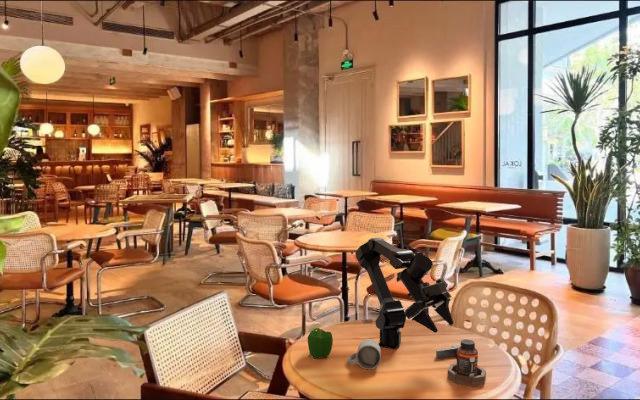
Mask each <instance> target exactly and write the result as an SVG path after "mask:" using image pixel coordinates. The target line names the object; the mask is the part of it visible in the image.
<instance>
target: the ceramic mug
mask: <svg viewBox="0 0 640 400" xmlns="http://www.w3.org/2000/svg"><path fill="white" fill-rule="evenodd" d="M381 360H382V350H381V346H379V342H377V341H376V340H374V339H370V338H368V339H367V338H366V339H364V340H363V341H362V342H360V343H359V345H358V347H357V351H356V352H355V353H353V354H351V355H349V356H348V357H347V359H346V361H347V364H348V365H350V366H353V365H356V364H357V365H358V366H360V368H362V369H364V370H367V369H368V370H370V371H371V370H373V369H376V368H377V367H378V366H379V365H380V364H381Z"/></svg>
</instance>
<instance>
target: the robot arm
mask: <svg viewBox="0 0 640 400" xmlns="http://www.w3.org/2000/svg"><path fill="white" fill-rule="evenodd" d="M381 256H383V257H384V258H386V259H388V261H389V264H390V266H391V267H392V268H393V269H395V270H400V269H402V271H399V272H396V282H400V281H401V282H402V284H403V286H404V287H405V289H406V290H407V292H408V293H407V296H408V298H412V299H413V301H414V302H413V303H411V304H410V306H408V307H407V308H406V309H405V308H404V307H403V304H402V302H401V300H400V299H398V300H397V299H394V298H393V295H392V292H391V290H390V287H389V285H388V283H387V280H386V279H385V276H384V273H383V271H382V268H381V266H380V263H381ZM355 259H356V260H357V262H358V264H359V266H360V267H361V268H363V269H364V270H365V271H366V272H367V274H368V277H369V279H370V283H371V285H372V287H373V290H374V293H375V295H376V297H377V299H378V303H379V310H378V317H377V318H376V319H375V321H374V322H375V327H376V328H377V329H379V342H378V344H379V346H380V348H381V347H382V348H387V349H388V348H389V349H393V350H397V349H398V347H399V346H400V345H401V344H402V332H401V331H400V329H404V327H405V324H406V320H407V319H408V320H411V321H415V322H416V323H418V324H420V325H422V326H423V327H425V328H427V329H428V330H430V331H432V332H433V333H437V332H438V331H439V329H438V328H437V326H436V325H435V323H434V321H433V319H432V317H431V316H430V312H429V308H430V307H431V308H434V311H435V313H437V314H438V316H440V317H441V318H442V319H443V320H444V321H445V322H446V323H448V324H449V325H450V326H452V325H454V320H453V317H452V314H451V311H450V307H449V304H450V302H451V298H452V295H451V293H449V291H448V286H449V284H448V282H446V280H445V279H444V278H439V279H436V281H435V283H433V284H430V282H428V281H426V282H425V281H424V280H423V278H424V277H425V276H426V275H427V274H428V273H429V272H430V271H431V270H432V269H433V265H434V263H433V262H432V260H431V258H429V257H428V256H427V255H425V254H424V253H423V252H422V251H417V252H415V253H414V252H413V251H412V250H410V249H405V248H398V247H397V246H395V245H393V244H391V243H390V242H387V241H386V240H384V238H382V237H374V238H373V237H372V238H369V239H368V240H367V242H364V243H363V244H362V245H361V244H360V246H359V247H358V248H357V249H356V251H355Z"/></svg>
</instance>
